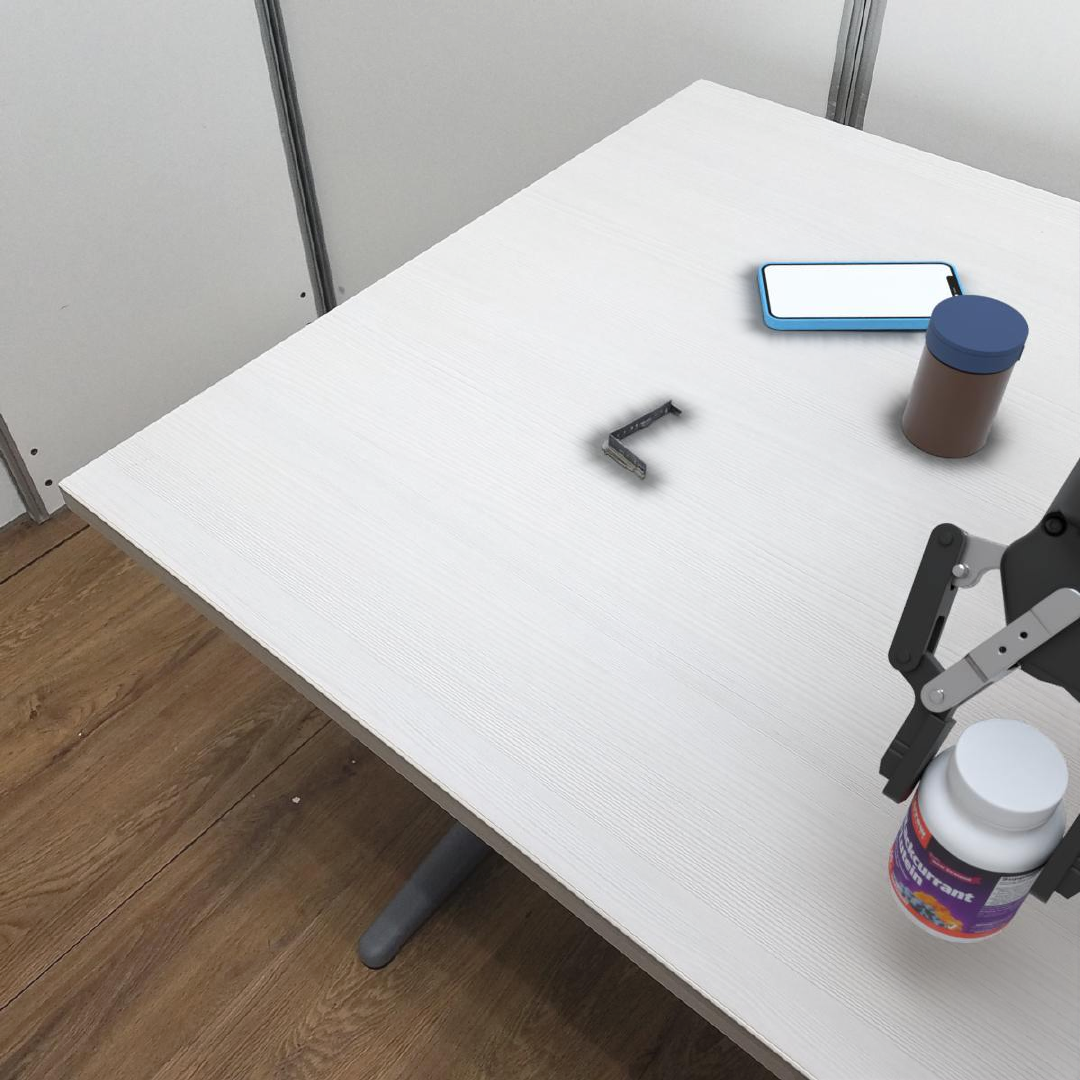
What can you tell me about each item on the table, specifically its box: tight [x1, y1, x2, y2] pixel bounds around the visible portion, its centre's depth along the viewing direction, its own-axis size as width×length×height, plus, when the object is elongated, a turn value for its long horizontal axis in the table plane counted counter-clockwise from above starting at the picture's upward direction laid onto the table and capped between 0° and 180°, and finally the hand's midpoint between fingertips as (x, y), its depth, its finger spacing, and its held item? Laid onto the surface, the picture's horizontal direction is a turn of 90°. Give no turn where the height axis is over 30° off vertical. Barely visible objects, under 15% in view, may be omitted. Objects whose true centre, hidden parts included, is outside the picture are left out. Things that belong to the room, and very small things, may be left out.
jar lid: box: [924, 294, 1030, 373], centre depth 72 cm, size 6×6×2 cm
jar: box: [901, 340, 1016, 459], centre depth 75 cm, size 6×6×8 cm
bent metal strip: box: [601, 398, 683, 480], centre depth 77 cm, size 7×1×5 cm
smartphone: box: [757, 260, 966, 331], centre depth 87 cm, size 8×1×15 cm
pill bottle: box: [886, 717, 1070, 944], centre depth 45 cm, size 5×5×10 cm
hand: (965, 843), depth 43 cm, fingers closed on pill bottle, 5 cm apart
